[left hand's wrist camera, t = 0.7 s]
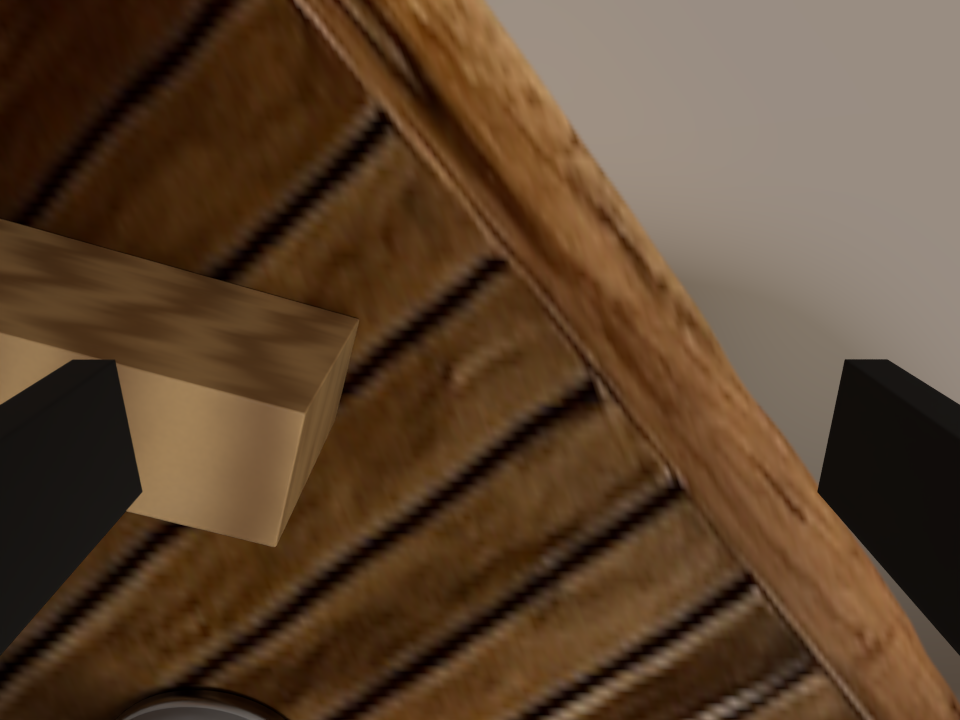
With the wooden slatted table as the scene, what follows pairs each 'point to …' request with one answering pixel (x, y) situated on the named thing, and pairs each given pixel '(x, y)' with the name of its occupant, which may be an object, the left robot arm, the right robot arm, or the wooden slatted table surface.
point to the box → (182, 374)
